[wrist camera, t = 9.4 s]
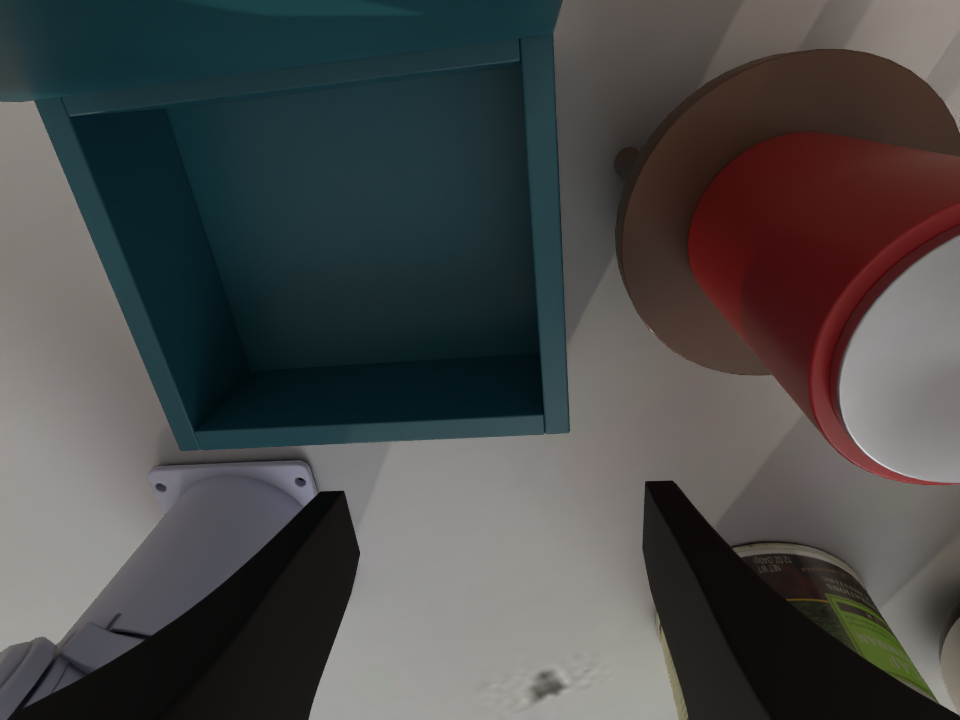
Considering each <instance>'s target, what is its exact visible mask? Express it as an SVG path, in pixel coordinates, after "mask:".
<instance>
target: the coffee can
mask: <svg viewBox="0 0 960 720" xmlns="http://www.w3.org/2000/svg"><path fill="white" fill-rule="evenodd" d="M732 549H733V550H734V551H735V552H736V553H737V554H738V555H739V556H740V557H741V558H742V559H743V560H744V561H745V562H746V563H747V564H748V565H749V566H750V567H751V568H752V569H753V570H754V571H755V572H756V573H757V574H758V575H759V576H760V577H761V578H762V579H763V580H765V581H766V582H767V583H768V584H769V585H770V586H771V587H772V588H773V589H774V590H776V591H777V592H778V593H779V594H780V595H781V596H782V597H784V598H785V599H786V600H787V601H788V602H790V603H791V604H792V605H793V606H794V607H796V608H797V609H798V610H799V611H800V612H802V613H803V614H804V615H805V616H807V617H808V618H809V619H810V620H812V621H813V622H814V623H816V624H817V625H818V626H820V627H821V628H822V629H824V630H825V631H827V632H828V633H829V634H831V635H832V636H833V637H835V638H836V639H838V640H839V641H840V642H842V643H843V644H845V645H846V646H847V647H849V648H850V649H852V650H853V651H854V652H856V653H857V654H859V655H860V656H862V657H863V658H865V659H866V660H868V661H869V662H871V663H872V664H874V665H875V666H877V667H878V668H880V669H882V670H883V671H885V672H886V673H888V674H889V675H891V676H893V677H894V678H896V679H897V680H899V681H900V682H902V683H904V684H905V685H907V686H908V687H910V688H912V689H913V690H915V691H917V692H919V693H920V694H922V695H924V696H926V697H927V698H929V699H931V700H933V701H934V702H936V703H938V704H939V702H938V701H937V699H936V698H935V696H934V694H933V693H932V691H931V690H930V688H929V687H928V685H927V684H926V682H925V681H924V679H923V678H922V676H921V675H920V673H919V672H918V670H917V669H916V667H915V666H914V664H913V663H912V661H911V660H910V658H909V657H908V655H907V653H906V652H905V650H904V649H903V647H902V646H901V644H900V642H899V641H898V640H897V638H896V637H895V635H894V634H893V632H892V630H891V629H890V627H889V626H888V624H887V623H886V621H885V620H884V618H883V617H882V615H881V614H880V612H879V610H878V609H877V607H876V606H875V604H874V603H873V601H872V600H871V598H870V596H869V595H868V593H867V591H866V589H865V587H864V585H863V583H862V581H861V580H860V578H859V577H858V576H857V574H856V573H855V572H854V571H853V570H852V569H851V568H850V567H849V566H848V565H847V564H846V563H844V562H843V561H841V560H840V559H838V558H836V557H834V556H832V555H830V554H828V553H826V552H823V551H821V550H818V549H815V548H812V547H808V546H803V545H798V544H791V543H756V544H749V545H744V546H738V547H734V548H732ZM655 623H656V630H657V634H658V637H659V639H660V642H661V644H662V648H663V652H664V657H665V661H666V665H667V669H668V674H669V678H670V682H671V686H672V691H673V695H674V700H675V704H676V708H677V712H678V717H679V720H689V718H688V713H687V709H686V705H685V701H684V698H683V694H682V690H681V686H680V683H679V680H678V677H677V674H676V670H675V667H674V664H673V661H672V658H671V654H670V651H669V648H668V645H667V642H666V639H665V635H664V632H663V629H662V626H661V623H660V619H659V616H658V613H657V612H656V620H655Z"/></svg>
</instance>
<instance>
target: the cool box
mask: <svg viewBox="0 0 960 720" xmlns="http://www.w3.org/2000/svg"><path fill="white" fill-rule="evenodd" d="M34 101H35V104H36V106H37V108H38V111H39V113H40V116H41V118H42V120H43V123H44V125H45V128H46V130H47V132H48V135H49V137H50V140H51V142H52V144H53V147H54V149H55V151H56V154H57V156H58V159H59V161H60V163H61V166H62V168H63V171H64V173H65V175H66V178H67V180H68V183H69V185H70V187H71V190H72V192H73V195H74V197H75V199H76V202H77V204H78V207H79V209H80V211H81V214H82V216H83V219H84V221H85V223H86V226H87V228H88V231H89V233H90V235H91V238H92V240H93V242H94V245H95V247H96V250H97V252H98V254H99V257H100V259H101V262H102V264H103V266H104V269H105V271H106V274H107V276H108V278H109V281H110V283H111V286H112V288H113V290H114V293H115V295H116V298H117V300H118V302H119V305H120V307H121V310H122V312H123V314H124V317H125V319H126V322H127V324H128V326H129V329H130V331H131V334H132V336H133V338H134V341H135V343H136V345H137V348H138V350H139V353H140V355H141V357H142V360H143V362H144V365H145V367H146V369H147V372H148V374H149V377H150V379H151V381H152V384H153V386H154V389H155V391H156V393H157V396H158V398H159V401H160V403H161V405H162V408H163V410H164V413H165V415H166V417H167V420H168V422H169V425H170V427H171V429H172V432H173V434H174V436H175V439H176V441H177V444H178V446H179V448H180V450H181V451H190V450H201V449H202V450H215V449H237V448H259V447H281V446H303V445H324V444H346V443H368V442H390V441H412V440H433V439H455V438H477V437H499V436H521V435H542V434H545V433H546V434H560V433H569V431H570V423H569V399H568V376H567V352H566V329H565V305H564V281H563V258H562V234H561V211H560V187H559V163H558V140H557V116H556V93H555V69H554V46H553V33H552V34H549V35H541V36H533V37H525V38H517V39H509V40H502V41H494V42H486V43H478V44H470V45H463V46H455V47H447V48H439V49H431V50H423V51H416V52H408V53H400V54H392V55H384V56H376V57H369V58H361V59H353V60H345V61H337V62H330V63H322V64H314V65H306V66H298V67H290V68H283V69H275V70H267V71H259V72H251V73H244V74H236V75H228V76H220V77H212V78H204V79H197V80H189V81H181V82H173V83H165V84H157V85H150V86H142V87H134V88H126V89H118V90H111V91H103V92H95V93H87V94H79V95H71V96H64V97H56V98H48V99H40V100H34Z"/></svg>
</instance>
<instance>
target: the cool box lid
mask: <svg viewBox="0 0 960 720" xmlns="http://www.w3.org/2000/svg"><path fill="white" fill-rule="evenodd" d="M562 1H563V0H0V101H1V102H24V101H32V100H40V99H48V98H56V97H64V96H71V95H79V94H87V93H95V92H103V91H111V90H118V89H126V88H134V87H142V86H150V85H157V84H165V83H173V82H181V81H189V80H197V79H204V78H212V77H220V76H228V75H236V74H244V73H251V72H259V71H267V70H275V69H283V68H290V67H298V66H306V65H314V64H322V63H330V62H337V61H345V60H353V59H361V58H369V57H376V56H384V55H392V54H400V53H408V52H416V51H423V50H431V49H439V48H447V47H455V46H463V45H470V44H478V43H486V42H494V41H502V40H509V39H517V38H525V37H533V36H541V35H549V34H552V33H553V32H554V29H555V25H556V22H557V18H558V15H559V11H560V8H561V4H562Z"/></svg>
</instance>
